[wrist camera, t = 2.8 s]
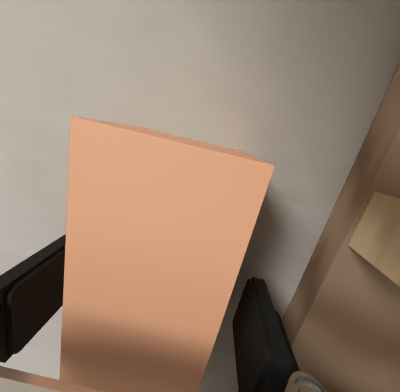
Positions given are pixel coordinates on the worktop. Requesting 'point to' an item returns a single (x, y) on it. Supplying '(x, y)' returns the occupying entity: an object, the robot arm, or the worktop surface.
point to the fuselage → (151, 254)
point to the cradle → (356, 273)
